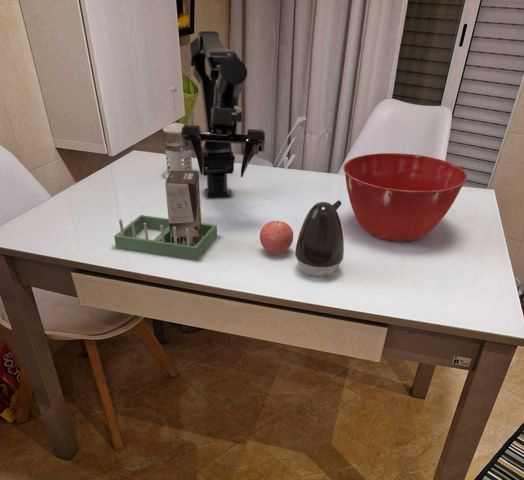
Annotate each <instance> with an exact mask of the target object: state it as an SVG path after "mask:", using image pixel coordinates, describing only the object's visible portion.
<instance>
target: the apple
mask: <svg viewBox="0 0 524 480" xmlns="http://www.w3.org/2000/svg"><path fill="white" fill-rule="evenodd" d="M259 240H260V244H261V246H262V247H263V249H264V250H265V251H266V252H267V253H269V254H271V255H276V256H278V255H283V254H285V252H287V251H288V250H289V248H291V246H292V244H293V242H294V230H293V229H292V226H290V224H288V223H287V222H285V221H281V220H271V221H268V222H266V223H265V224H264V225H262V228H261V229H260V231H259Z"/></svg>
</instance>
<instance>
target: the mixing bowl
mask: <svg viewBox="0 0 524 480" xmlns="http://www.w3.org/2000/svg"><path fill="white" fill-rule="evenodd" d="M343 172H344V175H345V184H346V191H347V194H348V200H349V203H350V206H351V208H352V211H353V214H354V216H355V218H356V221H357V222H358V225H359V226H360V227H361V228H362V229H363V230H365V232H367V233H368V234H369V235H371V236H372V237H374V238H377V239H379V240H382V241H386V242H393V243H408V242H412V241H416V240H418V239H420V238H422V237H424V236H426V235H428V234H429V233H431V231H433V230H434V229H435V228H436V227H437V225H439V224H440V223H441V221H442V220H443V219H444V217H445V216H446V214H447V213H448V212H449V211H450V209H451V207H452V206H453V204H454V203H455V201H456V199H457V197H458V195H459V193H460V192H461V190H462V188H463V186H464V184H465V183H466V182H467V180H468V174H467V173H466V171H465V170H464V169H463V168H461V167H460V166H458V165H456V164H455V163H452V162H449V161H446V160H444V159H439V158H437V157H431V156H426V155H420V154H414V153H413V154H412V153H399V152H383V153H381V152H380V153H370V154H364V155H359V156H356V157H353V158H350V159H348V160H347V161H346V162H345V163H344V165H343Z"/></svg>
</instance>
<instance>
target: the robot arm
mask: <svg viewBox="0 0 524 480" xmlns="http://www.w3.org/2000/svg"><path fill="white" fill-rule="evenodd" d="M188 64H189V66H190V67H191V70H192V75H193V77H194V78H195V80H196V81H197V82H198V83H199V85H200V95H201V101H202V102H201V103H202V110H203V118H204V125H205V131H202V130H201V125H195V124H193V125H192V124H184V126H183V127H182V131H181V136H180V138H181V137H182V140H183V143H184V145H185V146H187V147H189V148H190V150H191V152H192V151H193V152H194V154H195V156H196V160H197V164H198V168H199V174H200V175H201V176H206V188H205V189H204V191H205V195H206V197H207V198H208V199H212V198H229V197H231V194H230V191H229V189H228V175H229V174H231V175H233V174H234V170H235V169H234V168H235V160H236V156H235V155H234V152H233V150H232V149H231V144H239V145H240V144H241V145H244V151H243V155H242V162H241V167H240V178H244V175H245V173H246V171H247V169H248V166H249V164H250V162H251V161H252V159H253V157H254V156H255V155H256V156H257V155H259V153H260V152H261V153H262V152H264V151H265V144H266V132H265V131H264V130H263V129H257V128H256V129H254V128H247V134H242V133H241V134H240V133H238V123H243V117H244V116H243V115H244V105H240V95H241V94H242V91H243V88H244V85H245V82H246V80H247V76H248V69H247V67H246V65H245V64H244V62H243V61H242V60H241V58H240V57H239V56H238V54H237V52H236V51H235V50H234V49H230V48H226V47H225V46H224V44H223V42H222V40H221V39H220V34H219V32H218V31H216V30H200V31H198V32H197V36H196V37H195V38H194V39H193V40H192V41H191V42H190V43H189V47H188ZM203 142H204V145H203ZM202 145H203V146H202Z"/></svg>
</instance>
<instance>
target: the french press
mask: <svg viewBox="0 0 524 480" xmlns="http://www.w3.org/2000/svg"><path fill="white" fill-rule="evenodd" d="M169 91H170V92H171V93H172V98H173V99H175V92H176V93H177V92H178V91H177V88H176V87H175V86H170V88H169ZM175 104H176V102H175V101H173V109H174V112H176V105H175ZM184 125H185V124H184V123H181V122H177V117H176V113H174V122H172V123H170V124H167V125H165V126H164V127H163V128H162V131H163V132H164V133H166V134H169V135H170V134H171V135H176V136H179V137H180V139H178V138H176V139H172V140H171V139H170V140H168V141H166V142H165V146H166V147H165V148H164V151H165V162H166V163H165V164H166V172H165V174H164V177H165V179H167V178H168V176H169V174H170V172H171V171H193V166H192V165H193V162H192V159H193V158H192V150H190V148H189V147H187V146H185V145H184V143H183V140H182V137H181V131H182V127H183V126H184Z"/></svg>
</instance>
